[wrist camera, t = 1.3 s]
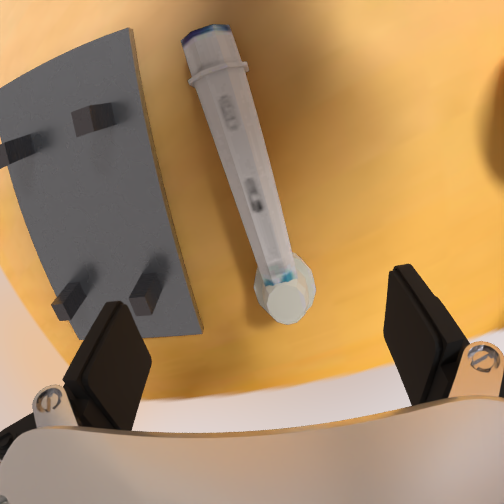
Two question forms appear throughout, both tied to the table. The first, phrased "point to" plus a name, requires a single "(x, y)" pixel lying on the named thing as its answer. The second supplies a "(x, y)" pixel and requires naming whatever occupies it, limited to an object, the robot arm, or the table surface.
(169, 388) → the table surface
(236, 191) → the white handheld device
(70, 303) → the peg stand
